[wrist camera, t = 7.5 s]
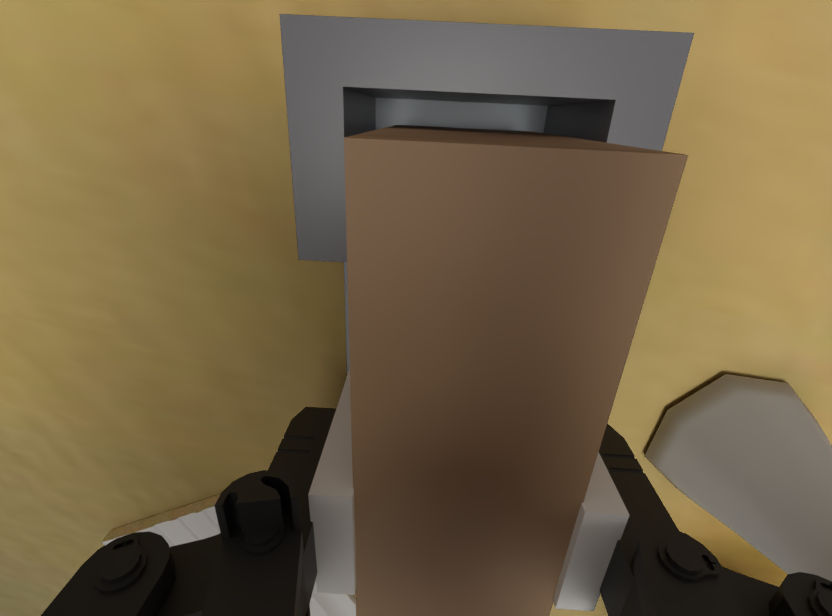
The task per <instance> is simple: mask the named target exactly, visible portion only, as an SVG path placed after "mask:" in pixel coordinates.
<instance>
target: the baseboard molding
mask: <svg viewBox="0 0 832 616" xmlns="http://www.w3.org/2000/svg"><path fill="white" fill-rule="evenodd" d="M219 496H220V495H216V496H213V497H210V498H207V499H204V500H201V501H198V502H195V503H192V504H189V505H186V506H183V507H179V508H176V509H173V510H170V511H167V512H164V513H161V514H158V515H155V516H152V517H149V518H145V519H142V520H139V521H136V522H133V523H130V524H127V525H124V526H121V527H118V528H115V529H113V530H112V531H111V532H110V533H109V534H108V535H107V536H106V537H105V539H104V540H103V541H102V543H103V544H104V545H107V544H108V543H110V542H112V541H113V540H115V539H117V538H120V537H123V536H125V535H128V534H131V533H135V532H148V531H150V532H153V533H156V534H159V535H162V536H163V538H164V539H165V540H166V541H167V543H168V544H169V547H171V546H176V545H180V544H184V543H189V542H193V541H197V540H202V539H205V538H208V537H212V536H215V535H217V534H219V533H220V528H219V524H218V519H217V515H216V511H215V506H214V505H215V503H216V502H217V500H218V498H219ZM309 605H310V615H311V616H356V599H355V598H354V596H353V595H347V594H332V593H317V587H316V580H315V584H314V588H313V592H312V596H311V600H310V604H309Z"/></svg>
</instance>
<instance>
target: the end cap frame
mask: <svg viewBox="0 0 832 616" xmlns="http://www.w3.org/2000/svg"><path fill="white" fill-rule="evenodd" d="M280 26H281V38H282V51H283V64H284V77H285V90H286V103H287V116H288V129H289V142H290V155H291V168H292V181H293V194H294V206H295V219H296V232H297V245H298V258H299V260H312V261H331V262H344V281H345V315H346V348H347V375H348V372H349V369H350V355H349V316H348V276H347V237H346V198H345V158H344V138H345V137H349V136H353V135H357V134H361V133H365V132H369V131H373V130H377V129H382V128H386V127H390V126H394V125H412V126H432V127H452V128H472V129H492V130H512V131H531V132H540V133H547V134H553V135H560V136H566V137H573V138H579V139H586V140H592V141H599V142H605V143H612V144H619V145H625V146H632V147H638V148H645V149H651V150H658V151H662V148H663V145H664V141H665V137H666V134H667V130H668V126H669V123H670V119H671V115H672V112H673V108H674V105H675V101H676V97H677V94H678V90H679V86H680V83H681V79H682V75H683V72H684V68H685V64H686V61H687V57H688V53H689V50H690V46H691V42H692V39H693V35H694V33H684V32H662V31H640V30H618V29H597V28H575V27H553V26H531V25H509V24H487V23H465V22H444V21H422V20H400V19H378V18H356V17H334V16H313V15H291V14H280ZM355 593H356V592H355Z"/></svg>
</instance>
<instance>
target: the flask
mask: <svg viewBox="0 0 832 616" xmlns="http://www.w3.org/2000/svg"><path fill="white" fill-rule="evenodd" d="M645 457H646V458H647V459H648V460H649V461H650V462H651V463H652V464H653V465H654V466H655V467H656V468H657V469H658V470H659V471H660V472H661V473H662V474H663V475H664V476H665V477H666V478H667V479H668V480H669V481H670V482H671V483H672V484H673V485H674V486H675V487H676V488H677V489H678V490H679V491H681V492H682V493H683V494H685V495H686V496H687V497H688V498H690V499H691V500H692V501H694V502H695V503H696V504H698V505H699V506H700V507H702V508H703V509H704V510H706V511H707V512H708V513H710V514H711V515H713V516H714V517H715V518H717V519H718V520H719V521H721V522H722V523H723V524H725V525H726V526H727V527H729V528H730V529H731V530H733V531H734V532H735V533H737V534H738V535H739V536H741V537H742V538H743V539H744V540H746V541H747V542H748V543H749V544H751V545H752V546H753V547H754V548H756V549H757V550H758V551H759V552H761V553H762V554H763V555H765V556H766V557H767V558H768V559H770V560H771V561H772V562H773V563H775V564H776V565H777V566H778V567H780V568H781V569H782V570H784V571H785V572H786V573H787V574H792V573H797V572H804V573H809V574H814V575H818V576H820V577H823V578H825V579H827V580H829V581H832V446H831V444H830V442H829V440H828V439H827V437H826V435H825V433H824V432H823V430H822V429H821V427H820V425H819V424H818V422H817V420H816V419H815V418H814V416H813V415H812V414H811V413H810V411H809V410H808V409H807V407H806V406H805V405H804V403H803V402H802V401H801V399H800V398H799V397H798V395H797V394H796V393H795V391H794V390H793V389H792V387H791V386H790V385H789V384H788V383H784V382H777V381H770V380H763V379H757V378H750V377H743V376H736V375H729V374H725V375H723V376H722V377H720V378H719V379H717V380H715V381H714V382H712V383H710V384H709V385H707V386H706V387H704V388H702V389H701V390H699V391H697V392H696V393H694V394H693V395H691V396H689V397H688V398H686V399H684V400H683V401H681V402H680V403H678V404H676V405H675V406H673V407H671V408H670V409H668V410H667V412H666V414H665V416H664V418H663V420H662V422H661V424H660V426H659V428H658V430H657V432H656V434H655V436H654V438H653V440H652V442H651V444H650V446H649V448H648V450H647V452H646V454H645Z"/></svg>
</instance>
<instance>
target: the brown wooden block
mask: <svg viewBox="0 0 832 616" xmlns="http://www.w3.org/2000/svg"><path fill="white" fill-rule="evenodd" d="M687 157H688V155H684V154H677V153H671V152H664V151H658V150H651V149H645V148H638V147H632V146H625V145H619V144H612V143H605V142H599V141H592V140H586V139H579V138H573V137H566V136H560V135H553V134H547V133H540V132H531V131H512V130H492V129H472V128H452V127H432V126H412V125H394V126H390V127H386V128H382V129H377V130H373V131H369V132H365V133H361V134H357V135H353V136H349V137H345V138H344V158H345V198H346V237H347V276H348V316H349V355H350V395H351V434H352V473H353V489H354V519H355V558H356V590H355V592H356V616H549V615H550V611H551V608H552V605H553V597H554V593H555V590H556V587H557V583H558V580H559V577H560V573H561V570H562V567H563V563H564V560H565V556H566V553H567V550H568V546H569V543H570V540H571V536H572V533H573V530H574V526H575V523H576V519H577V516H578V513H579V509H580V506H581V503H583V502H584V499H585V495H586V492H587V489H588V485H589V482H590V479H591V475H592V472H593V469H594V465H595V462H596V459H597V455H598V452H599V449H600V445H601V442H602V439H603V436H604V432H605V429H606V426H607V422H608V419H609V416H610V412H611V409H612V406H613V402H614V399H615V396H616V392H617V389H618V386H619V382H620V379H621V376H622V372H623V369H624V366H625V363H626V359H627V356H628V353H629V349H630V346H631V343H632V339H633V336H634V333H635V329H636V326H637V323H638V319H639V316H640V313H641V309H642V306H643V303H644V299H645V296H646V293H647V290H648V286H649V283H650V280H651V276H652V273H653V270H654V266H655V263H656V260H657V256H658V253H659V250H660V246H661V243H662V240H663V236H664V233H665V230H666V226H667V223H668V220H669V217H670V213H671V210H672V207H673V203H674V200H675V197H676V193H677V190H678V187H679V183H680V180H681V177H682V173H683V170H684V167H685V163H686V160H687Z"/></svg>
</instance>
